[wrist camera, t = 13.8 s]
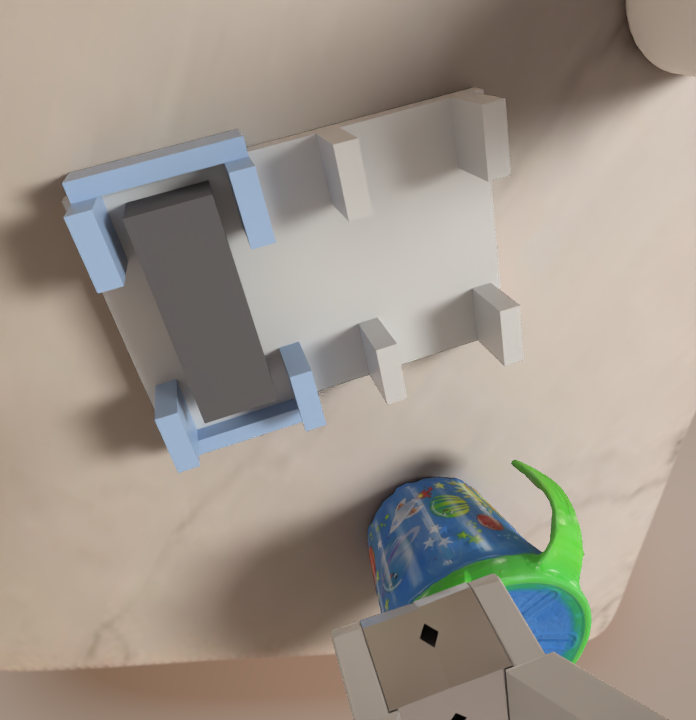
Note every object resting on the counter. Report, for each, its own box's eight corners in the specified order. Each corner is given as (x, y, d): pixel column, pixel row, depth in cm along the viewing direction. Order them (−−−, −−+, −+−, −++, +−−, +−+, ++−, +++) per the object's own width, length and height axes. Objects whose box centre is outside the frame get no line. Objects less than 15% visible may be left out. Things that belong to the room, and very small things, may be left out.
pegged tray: (56, 176, 25) (39, 199, 21) (471, 67, 27) (515, 73, 24) (172, 440, 32) (173, 489, 28) (496, 336, 34) (534, 371, 30)
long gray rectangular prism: (126, 202, 25) (122, 219, 23) (208, 180, 25) (212, 194, 23) (201, 394, 30) (204, 423, 28) (269, 372, 30) (278, 400, 28)
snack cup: (453, 387, 35) (549, 505, 26) (558, 466, 40) (669, 588, 31) (279, 574, 38) (313, 736, 29) (397, 626, 43) (456, 777, 34)
